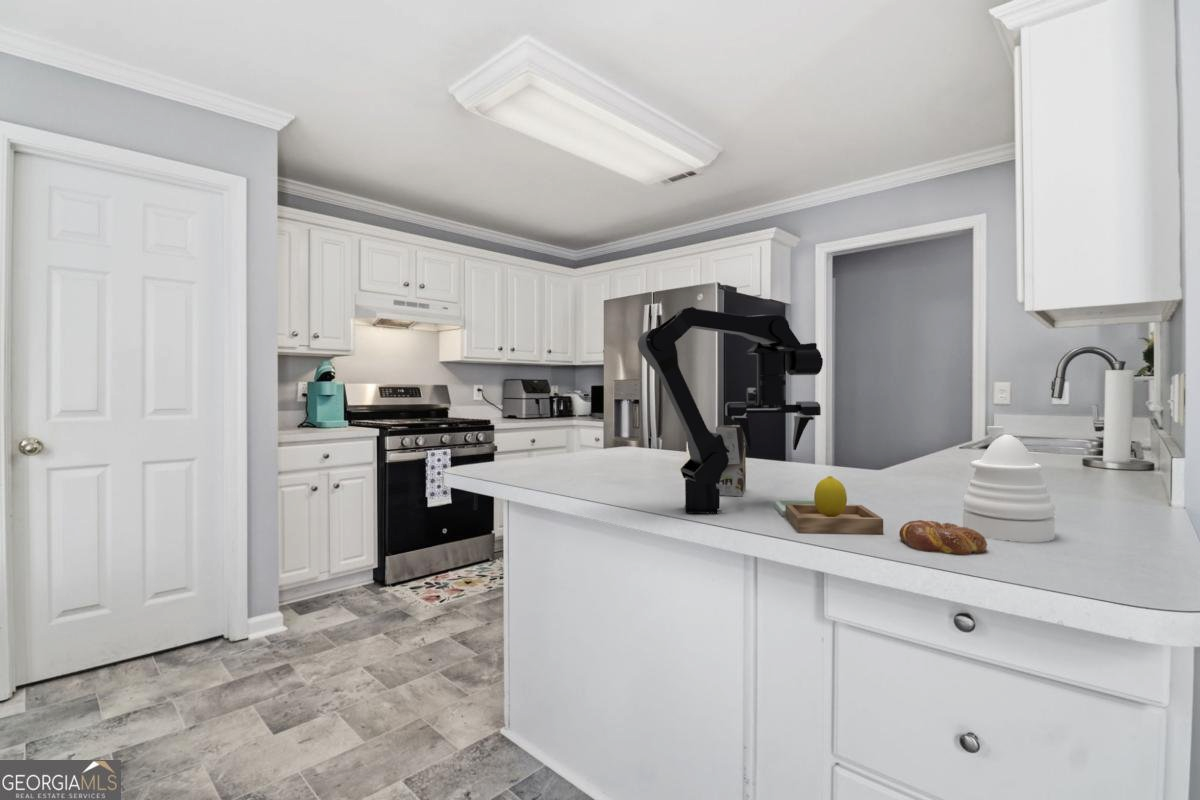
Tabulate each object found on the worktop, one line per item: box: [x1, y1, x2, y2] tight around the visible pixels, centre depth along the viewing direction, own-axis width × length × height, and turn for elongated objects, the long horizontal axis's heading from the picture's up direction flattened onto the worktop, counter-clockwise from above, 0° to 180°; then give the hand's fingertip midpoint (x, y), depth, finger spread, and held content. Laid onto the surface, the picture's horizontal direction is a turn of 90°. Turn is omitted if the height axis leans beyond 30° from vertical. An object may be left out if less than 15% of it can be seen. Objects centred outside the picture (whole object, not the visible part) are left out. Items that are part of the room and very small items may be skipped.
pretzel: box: [899, 519, 988, 555], centre depth 93 cm, size 12×11×4 cm
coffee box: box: [715, 424, 747, 497], centre depth 140 cm, size 9×6×16 cm
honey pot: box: [962, 425, 1056, 543], centre depth 100 cm, size 13×13×18 cm
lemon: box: [813, 475, 848, 517], centre depth 107 cm, size 6×6×8 cm
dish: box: [772, 499, 815, 518], centre depth 119 cm, size 11×11×1 cm
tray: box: [785, 504, 884, 535], centre depth 107 cm, size 14×12×3 cm
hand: (771, 449), depth 123 cm, fingers open, 9 cm apart
